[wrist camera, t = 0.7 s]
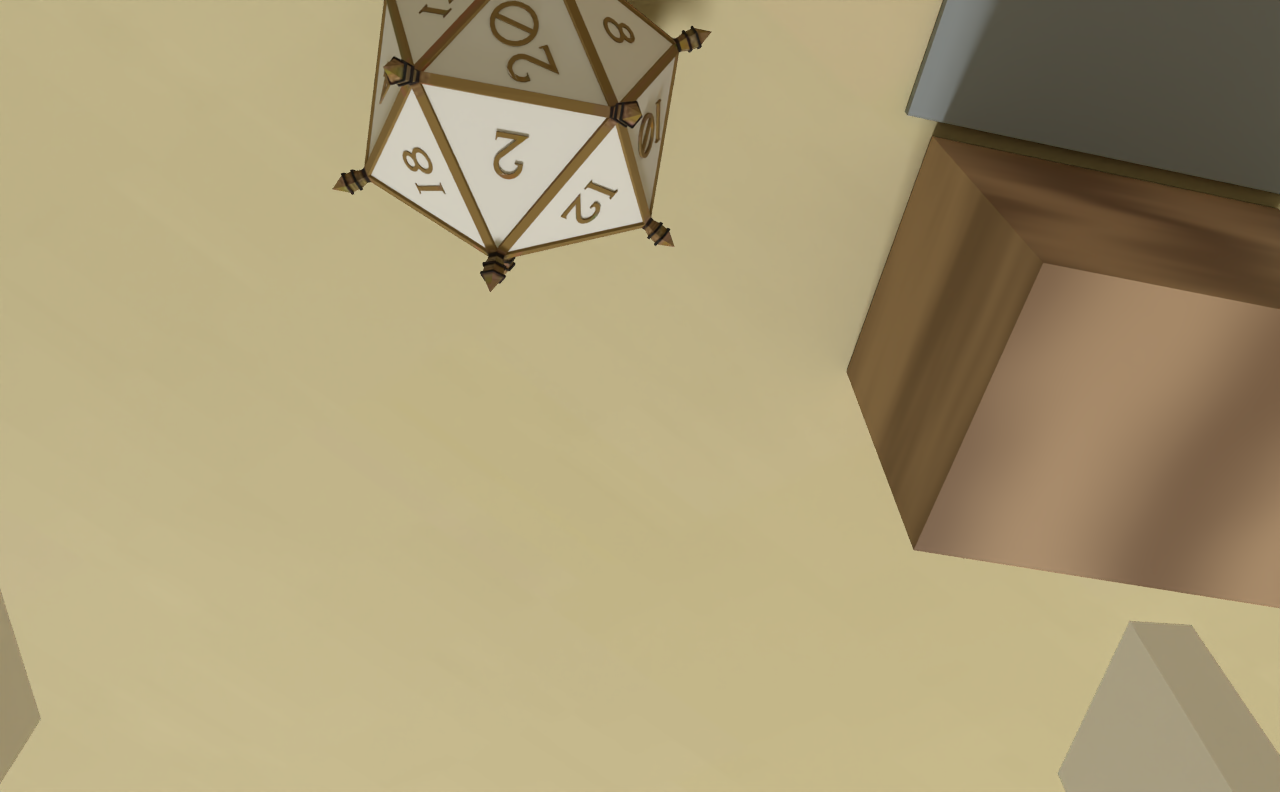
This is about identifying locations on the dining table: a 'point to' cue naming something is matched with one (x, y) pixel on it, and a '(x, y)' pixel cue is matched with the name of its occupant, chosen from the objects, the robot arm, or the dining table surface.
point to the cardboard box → (1080, 374)
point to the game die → (522, 120)
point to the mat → (1116, 80)
